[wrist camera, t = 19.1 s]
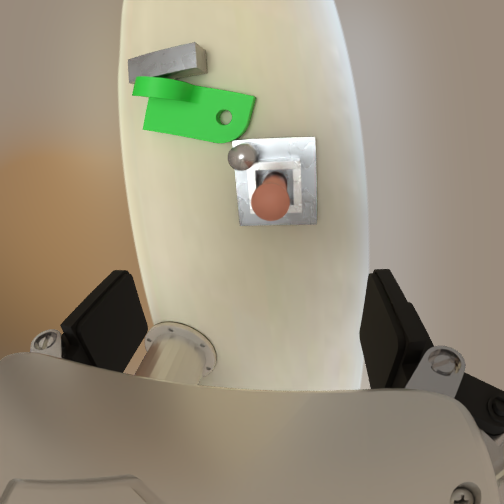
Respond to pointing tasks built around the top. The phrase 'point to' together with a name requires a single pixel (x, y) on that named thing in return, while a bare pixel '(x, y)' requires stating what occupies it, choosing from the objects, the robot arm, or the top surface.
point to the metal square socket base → (281, 160)
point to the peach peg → (271, 197)
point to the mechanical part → (193, 109)
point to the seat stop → (169, 63)
